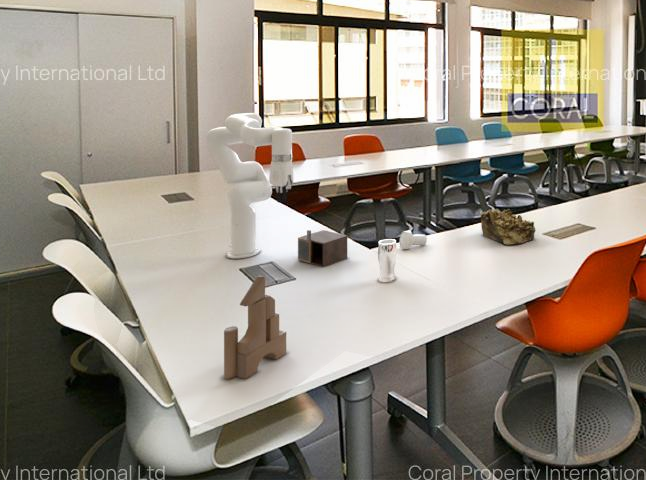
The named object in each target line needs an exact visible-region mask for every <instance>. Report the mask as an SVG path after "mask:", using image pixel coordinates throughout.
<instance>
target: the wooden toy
mask: <svg viewBox="0 0 646 480" xmlns="http://www.w3.org/2000/svg"><path fill="white" fill-rule="evenodd" d="M239 306H243V307H247V329H246V331H245V334H244V335H243V336H242V337H241V339H240V340H239V328H238V326H233V325H232V326H228V327H226V328H225V329H224V331H223V377H224V379H226V380H230V379H233V378H235V377H238V378H241V379H245V380H247V379H248V378H250V377H252V376H253V375H255V374H256V373H258V369H259V366H260V363H261V361H262V360H263V358H268V359H272V360H278V359H280V358H281V357H284V355H286V354H287V331H286V330H285V331H284V330H280V313H277V312H276V299H275V298H274V297H272V296H271V295H268V294H266V277H265V276H263V275H257V276H256V277H255V279H254V280H253V282H252V284H251V285H250V287H249V288H248V290H247V292H246V293H245V295H244V297H243V298H242V299H241V300H240V303H239Z"/></svg>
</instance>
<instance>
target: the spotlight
mask: <svg viewBox="0 0 646 480" xmlns="http://www.w3.org/2000/svg"><path fill="white" fill-rule="evenodd" d="M427 241H428V239H427V236H426V234H413V232H412V231H411V230H403V231H402V232H401V233H400V235H399V247H400V249H402V250H410V249H411V248H412V246H426V244H427Z"/></svg>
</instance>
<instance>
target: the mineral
mask: <svg viewBox="0 0 646 480" xmlns="http://www.w3.org/2000/svg"><path fill="white" fill-rule="evenodd" d="M480 225H481V231H482V236H484V237H486V238H489V239H491V240H493V241H495V242H499V243H500V244H503V245H507V246H508V245H516V244H523V243H527V242H529V241H532V240H535V232H536V227H535V221H530V220H527V219H523V216H521V214H517V215H516V214H515V213H514V214H513V211H511V209H510V208H508V209H503V210H502V211H501V210H500V209H499V208H496V209H493V210H492V209H488V210H487V211H481V214H480Z"/></svg>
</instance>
